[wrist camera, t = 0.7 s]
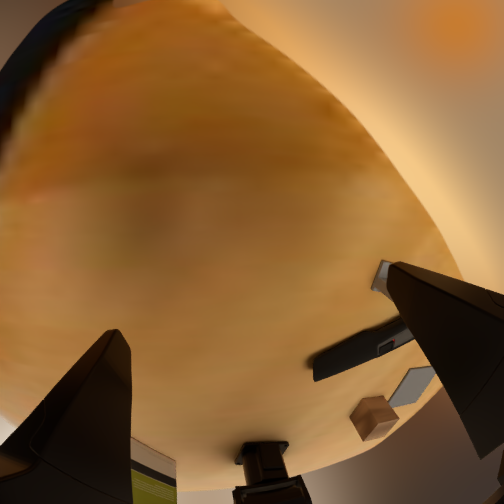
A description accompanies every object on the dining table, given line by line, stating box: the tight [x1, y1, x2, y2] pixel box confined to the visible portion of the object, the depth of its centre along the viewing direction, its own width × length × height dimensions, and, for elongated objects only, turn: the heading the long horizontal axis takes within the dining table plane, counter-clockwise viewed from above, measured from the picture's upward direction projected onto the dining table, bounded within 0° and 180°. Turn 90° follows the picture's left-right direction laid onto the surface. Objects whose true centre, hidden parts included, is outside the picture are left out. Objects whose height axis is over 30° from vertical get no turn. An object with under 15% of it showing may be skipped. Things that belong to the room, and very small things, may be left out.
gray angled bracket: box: [371, 260, 393, 301], centre depth 22 cm, size 3×7×5 cm, turn 75°
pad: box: [388, 366, 436, 408], centre depth 32 cm, size 8×8×1 cm
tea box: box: [131, 437, 177, 504], centre depth 21 cm, size 15×10×15 cm
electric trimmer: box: [313, 318, 415, 382], centre depth 25 cm, size 4×16×3 cm, turn 104°
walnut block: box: [350, 396, 399, 442], centre depth 29 cm, size 4×4×5 cm
